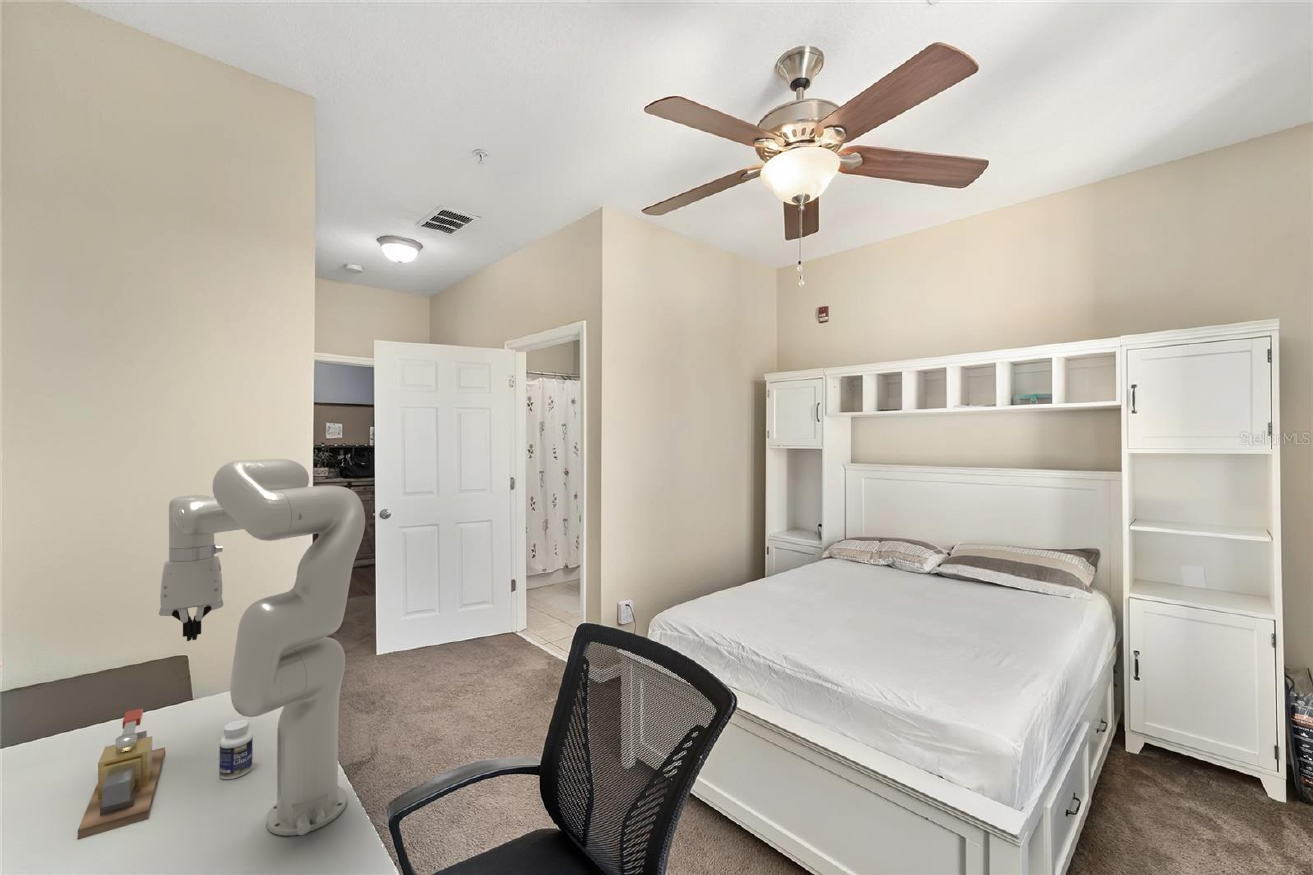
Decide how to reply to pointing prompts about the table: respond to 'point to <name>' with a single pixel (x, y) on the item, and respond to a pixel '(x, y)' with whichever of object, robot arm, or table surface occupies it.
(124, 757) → the valve
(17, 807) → the table surface
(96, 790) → the mount board
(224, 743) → the pill bottle
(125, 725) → the lever
